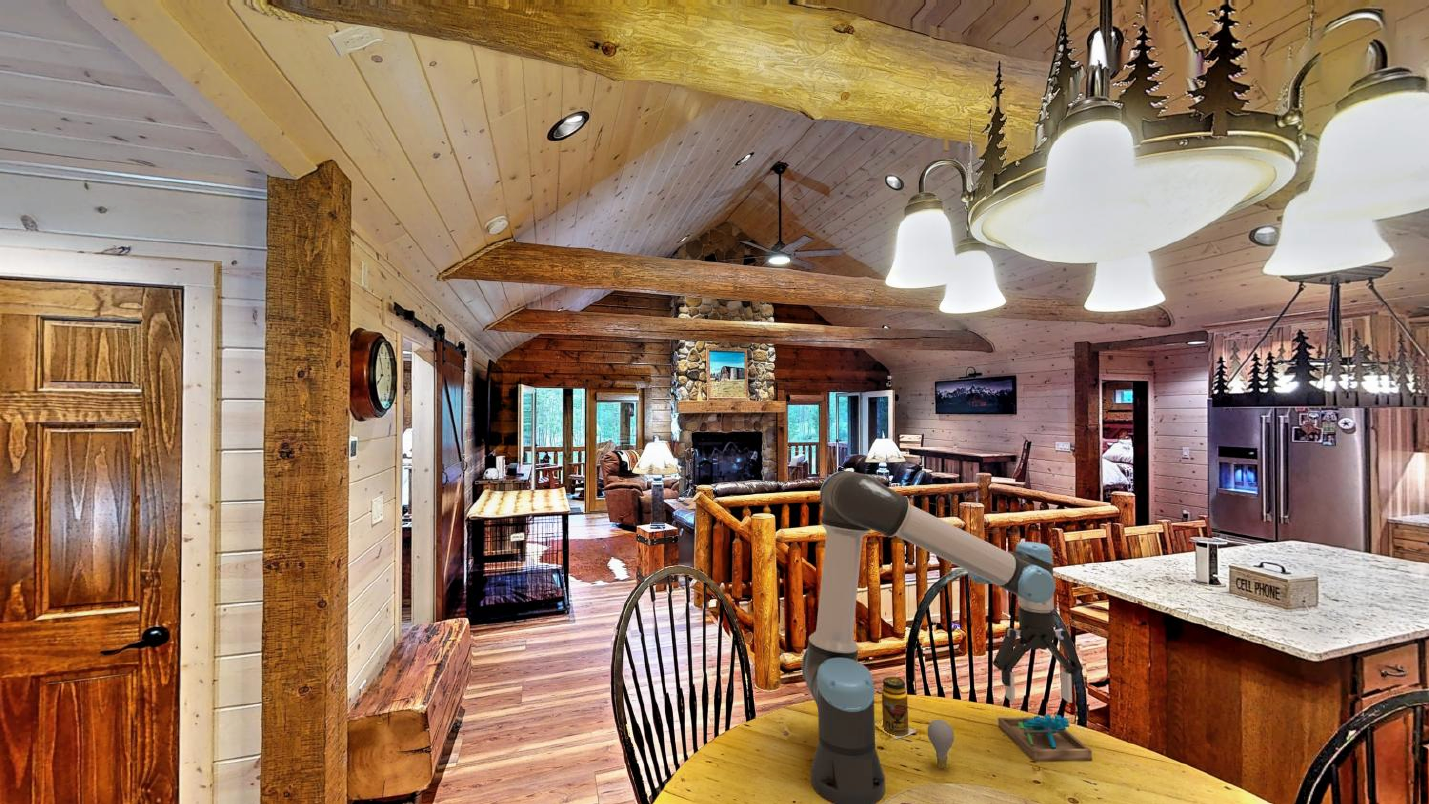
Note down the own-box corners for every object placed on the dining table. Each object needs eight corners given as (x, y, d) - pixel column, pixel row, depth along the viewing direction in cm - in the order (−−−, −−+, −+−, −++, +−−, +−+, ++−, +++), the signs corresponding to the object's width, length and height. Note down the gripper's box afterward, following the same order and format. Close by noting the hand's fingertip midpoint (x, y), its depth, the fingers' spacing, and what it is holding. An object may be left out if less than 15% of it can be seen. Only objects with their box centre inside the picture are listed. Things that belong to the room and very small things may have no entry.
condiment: (895, 740, 131) (894, 688, 132) (870, 724, 139) (868, 675, 140) (917, 732, 135) (915, 682, 136) (891, 717, 142) (889, 669, 143)
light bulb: (939, 777, 117) (937, 728, 117) (923, 763, 122) (921, 716, 123) (961, 773, 118) (959, 725, 119) (944, 759, 123) (942, 713, 124)
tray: (1033, 761, 122) (1033, 751, 122) (998, 726, 137) (998, 717, 137) (1092, 760, 122) (1091, 750, 122) (1050, 726, 137) (1050, 717, 137)
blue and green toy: (1064, 727, 132) (1070, 710, 126) (1075, 755, 128) (1081, 739, 122) (1015, 728, 135) (1018, 712, 129) (1024, 756, 130) (1027, 740, 124)
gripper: (992, 612, 128) (994, 706, 127) (1098, 614, 128) (1101, 707, 127) (976, 603, 136) (978, 691, 134) (1076, 604, 136) (1079, 693, 134)
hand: (1038, 699), depth 130 cm, fingers open, 13 cm apart
